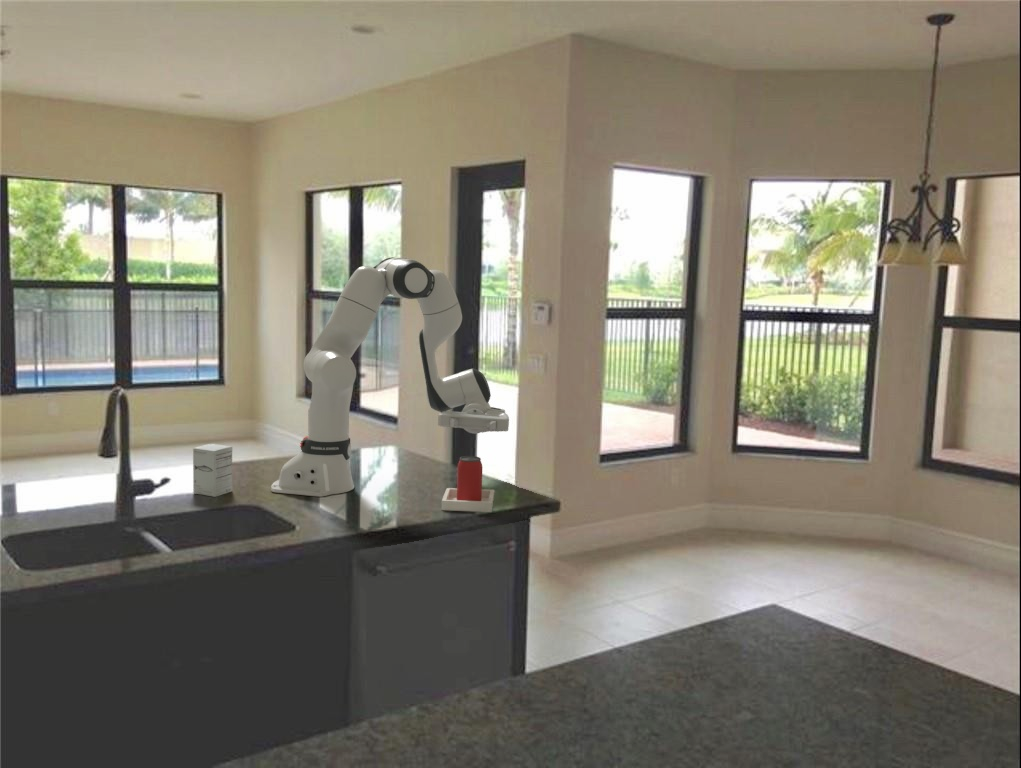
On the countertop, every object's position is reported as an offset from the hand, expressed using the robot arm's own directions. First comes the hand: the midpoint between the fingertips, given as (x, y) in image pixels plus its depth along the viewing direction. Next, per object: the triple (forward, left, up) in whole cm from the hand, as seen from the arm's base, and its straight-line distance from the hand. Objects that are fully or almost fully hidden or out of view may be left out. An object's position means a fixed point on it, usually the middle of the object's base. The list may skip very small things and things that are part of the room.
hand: (471, 425), depth 233 cm
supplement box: (-69, -10, -19) cm, 72 cm away
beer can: (+1, -12, -19) cm, 22 cm away
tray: (0, -12, -19) cm, 22 cm away
